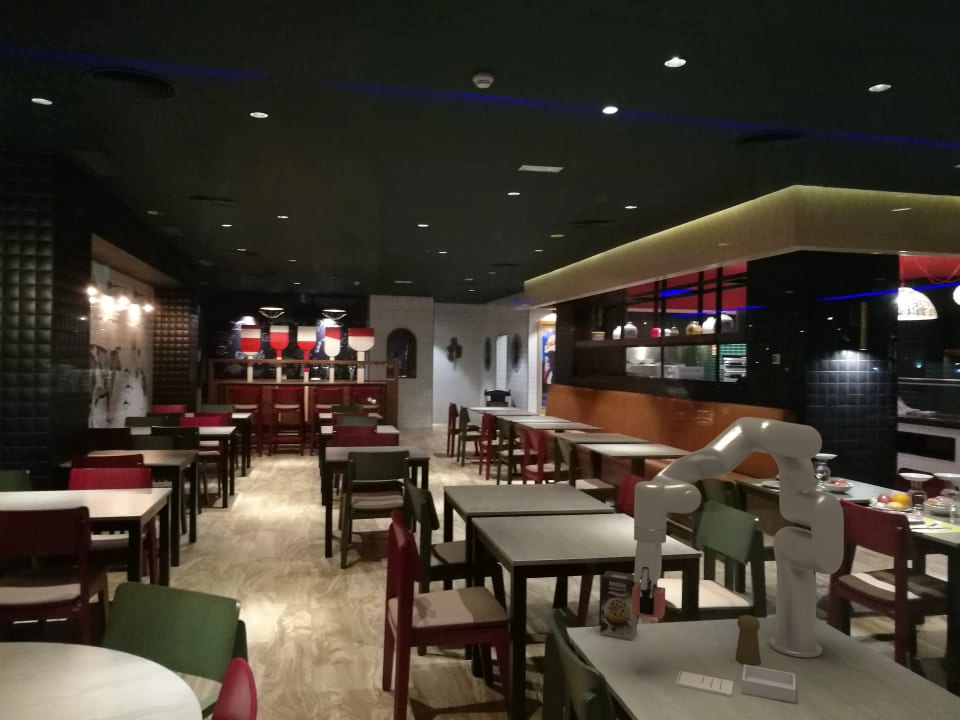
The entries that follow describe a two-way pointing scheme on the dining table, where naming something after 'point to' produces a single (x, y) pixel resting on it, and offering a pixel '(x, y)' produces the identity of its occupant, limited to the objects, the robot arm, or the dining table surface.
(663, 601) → the red block with stripe
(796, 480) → the robot arm
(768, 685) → the tray
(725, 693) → the ticket
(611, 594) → the coffee box
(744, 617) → the cork
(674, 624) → the dining table surface
